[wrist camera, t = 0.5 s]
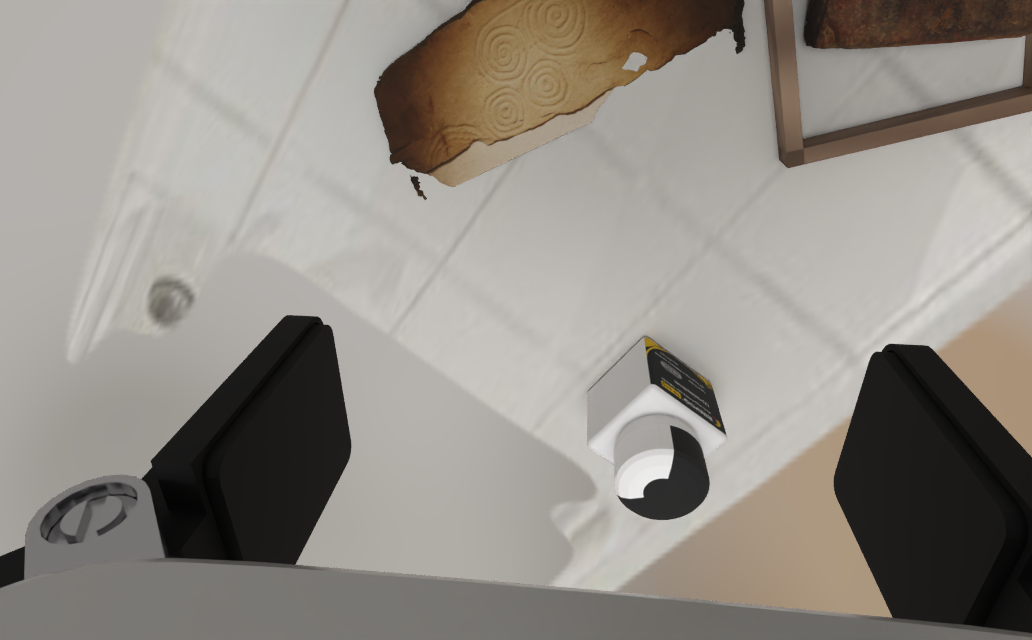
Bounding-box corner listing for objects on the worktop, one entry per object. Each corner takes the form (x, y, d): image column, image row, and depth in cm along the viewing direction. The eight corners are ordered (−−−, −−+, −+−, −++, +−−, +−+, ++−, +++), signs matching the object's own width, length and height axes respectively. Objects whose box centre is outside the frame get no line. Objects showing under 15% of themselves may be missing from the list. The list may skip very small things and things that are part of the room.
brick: (1009, -47, 35) (1064, -51, 31) (990, 31, 37) (1040, 37, 33) (808, -29, 36) (834, -31, 32) (799, 45, 38) (823, 53, 34)
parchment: (416, 203, 46) (414, 207, 45) (343, 73, 42) (339, 74, 41) (758, 45, 39) (762, 47, 38) (710, -129, 35) (713, -131, 34)
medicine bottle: (713, 383, 50) (744, 490, 39) (651, 437, 53) (666, 549, 42) (644, 333, 48) (658, 430, 38) (585, 391, 52) (584, 496, 41)
